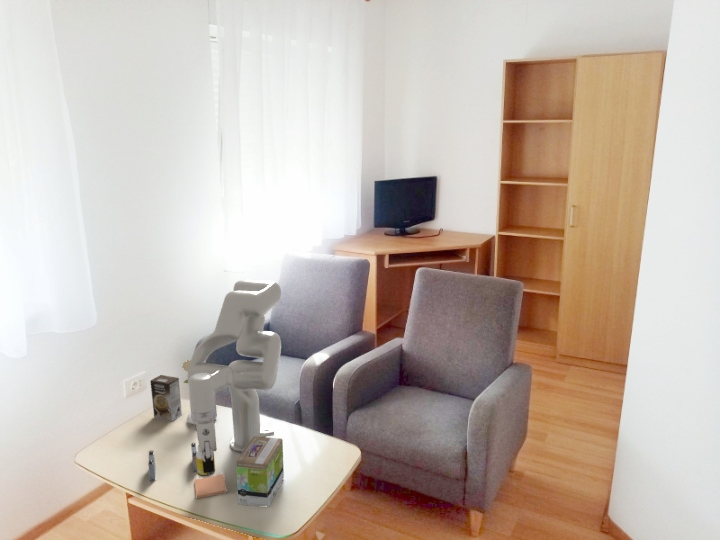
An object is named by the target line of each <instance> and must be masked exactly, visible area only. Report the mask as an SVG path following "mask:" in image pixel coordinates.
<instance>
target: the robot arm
mask: <svg viewBox="0 0 720 540" xmlns="http://www.w3.org/2000/svg"><path fill="white" fill-rule="evenodd" d="M281 296H282V289H281V287H280V284H279V283H278V282H276V281H272V280H257V279H254V280H253V279H241V280H238V281H236V282H235V283H234V286H233V291H229V292H228V293H226V295H225V296H224V299H223V303H222V306H221V309H220V312H219V315H218V317H217V318H218V319H217V321H216V326H215V328H214V330H213V332H212V333H211V334H209V335H208V336H207V337H206V338H204V339H203V340H202V342H200V344H199V345H197V347H196V349H194V351H193V354H192V356H191V359H190V360H191V362H190V365H189V369H188V372H187V379H188V383H187V384H188V394H189V407H190V412H191V420H192V421H193V422H195V423H196V426H195V427H196V434H197V442H198V445H199V447H200V452H201V453H202V454H203V472H204V473H208V472H213V471H214V461H215V459H214V460H213V456H212V451H214V452H217V449H218V448H217V447H218V446H217V439H216V426H215V425H216V424H215V420H216V419H217V417H218V413H217V412H218V411H217V402H216V401H217V400H216V394H217V393H219V392H221V391H224V390H226V389H229V393H230V400H231V402H230V403H231V412H232V413H231V414H232V415H231V416H232V429H233V436H232V438H231V439H230V441H229V446H230V448H231V449H232V450H233V451H236V452H240V453H242V452H243V451H244V450H245V448H246V447H247V445H248V444H249V443H250V441H251V440H252V438H253V437H254V436H257V437H273V436H275V430H273V429H272V430H270V428H264V429H263V428H261V418H260V417H261V416H260V415H261V414H260V400H259V399H260V398H259V393H258V392H257V390H260V391H269V390H272V389H273V388H274V386H275V384H276V381H277V377H278V372H279V365H280V359H281V353H282V341H281V337H280V335H279V334H278V333H277V332H275V331H274V332H273V331H269V330H264V329H265V328H264V327H265V321H266V318H265V315H266V314H267V313H268V312H269V311H271V309H273V308H274V307H275V306H276V305H277V304H278V303H279V301H280V299H281ZM235 342H236V343H235ZM233 343H235V344H236V345H235V346H236V347H235V350H236V352H237V354H238V355H240V356H242V357H248V358H259V359H262V361H255V360H246V359H238V360H237V359H236V360H234V361H231V362H229V365H222V364H215V363H208V362H206V361H207V360H208V358H209V356H210V355H212V353H213V352H214V351H216V350H218V349H220V348H222V347H225V346H228V345H231V344H233ZM204 449H205V451H204ZM210 449H211V450H210ZM205 453H206V456H205Z"/></svg>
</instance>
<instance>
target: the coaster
mask: <svg viewBox="0 0 720 540" xmlns="http://www.w3.org/2000/svg"><path fill="white" fill-rule="evenodd" d="M194 486H195V487H194V488H195V497H196V498H195V499H200V498H201V499H202V498H206V497H210V496H215V495H219V494H223V493H227V487H226V480H225V475H224V473H221V474H216V475H212V476H210V477H207V478H201V477H200V478H197V479H194Z"/></svg>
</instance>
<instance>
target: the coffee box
mask: <svg viewBox="0 0 720 540" xmlns="http://www.w3.org/2000/svg"><path fill="white" fill-rule="evenodd" d="M149 382H150V390H151V398H152V399H151V400H152V408H153V417H154V418H155V419H159V420H164V421H168V422H173V421H175V420H176V419H178V418H179V417H180V416H182V415H183V412H182V401H181V390H180V389H181V388H180V378H179V377H177V376H176V377H175V376H170V375H164V374H163V375H162V374H160V375H158V376H156V377H153V378H152V379H151V380H150V381H149Z"/></svg>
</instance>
